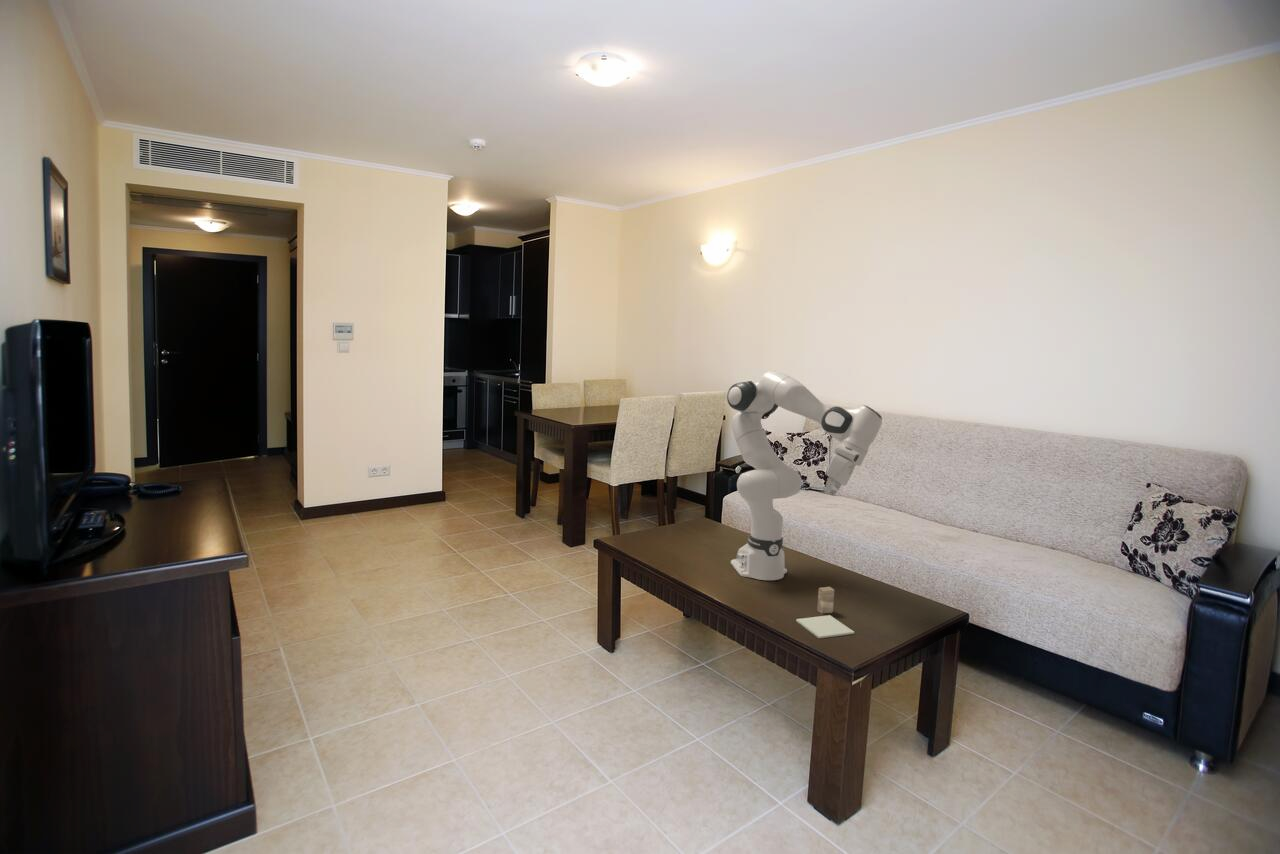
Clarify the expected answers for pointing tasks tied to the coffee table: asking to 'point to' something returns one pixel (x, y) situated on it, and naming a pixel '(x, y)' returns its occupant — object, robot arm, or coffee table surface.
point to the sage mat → (824, 626)
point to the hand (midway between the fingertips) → (828, 493)
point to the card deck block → (825, 600)
